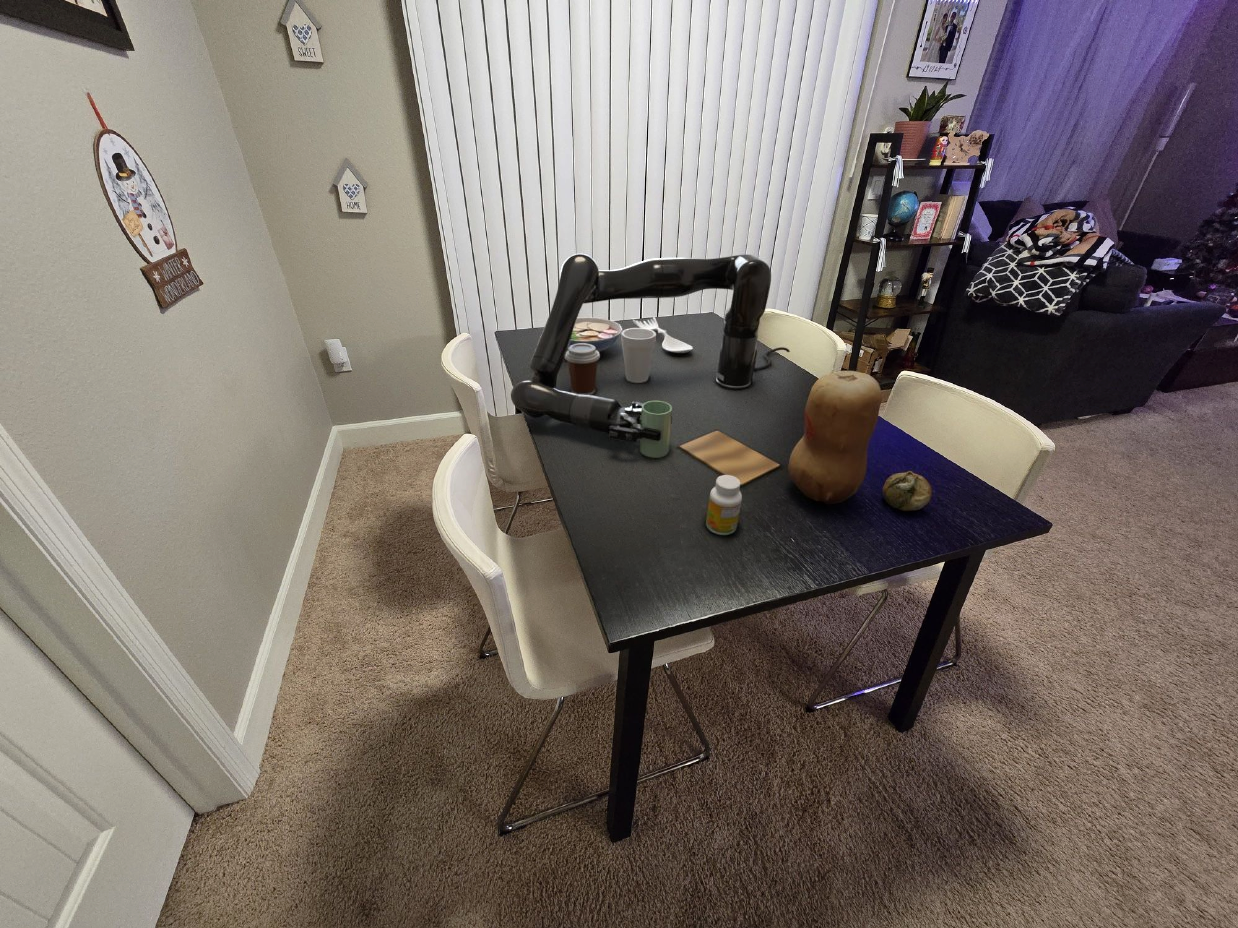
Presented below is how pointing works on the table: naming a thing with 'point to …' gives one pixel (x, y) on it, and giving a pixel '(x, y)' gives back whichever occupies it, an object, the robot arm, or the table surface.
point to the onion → (907, 491)
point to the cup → (659, 419)
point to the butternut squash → (836, 436)
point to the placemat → (729, 457)
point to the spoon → (669, 342)
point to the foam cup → (637, 353)
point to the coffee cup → (582, 367)
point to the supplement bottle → (724, 505)
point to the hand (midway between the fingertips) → (666, 428)
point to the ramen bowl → (595, 332)
